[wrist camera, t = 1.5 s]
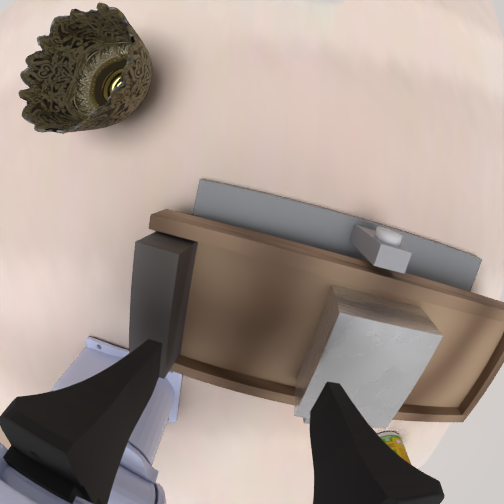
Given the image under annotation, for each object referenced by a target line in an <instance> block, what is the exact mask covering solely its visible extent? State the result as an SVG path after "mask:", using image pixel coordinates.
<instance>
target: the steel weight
mask: <svg viewBox="0 0 504 504" xmlns="http://www.w3.org/2000/svg"><path fill="white" fill-rule="evenodd" d="M442 337H443V335H442V334H441V332H440V331H439V330H438V328H437V327H436V326H435V324H434V323H433V322H432V321H431V319H430V318H429V317H428V315H427V314H426V313H425V312H424V310H423V309H422V308H421V307H418V306H414V305H410V304H406V303H402V302H399V301H395V300H391V299H387V298H383V297H379V296H375V295H371V294H367V293H363V292H359V291H356V290H352V289H348V288H344V287H340V286H336V285H332V286H331V289H330V291H329V294H328V297H327V300H326V303H325V305H324V308H323V311H322V314H321V316H320V319H319V322H318V324H317V327H316V330H315V332H314V335H313V338H312V340H311V343H310V345H309V348H308V350H307V353H306V355H305V358H304V360H303V363H302V365H301V367H300V370H299V372H298V375H297V377H296V384H295V406H294V416H298V417H303V418H308V419H310V411H311V409H312V407H313V406H314V404H315V402H316V400H317V399H318V397H319V395H320V393H321V391H322V390H323V388H324V386H325V384H326V382H334V383H340V385H341V386H342V387H343V389H344V390H345V392H346V393H347V395H348V396H349V398H350V399H351V401H352V402H353V403H354V405H355V406H356V408H357V409H358V411H359V412H360V413H361V415H362V416H363V417H364V419H365V420H366V421H367V423H368V424H369V425H370V426H371V427H374V428H386V427H387V426H388V424H389V423H390V422H391V420H392V419H393V417H394V416H395V415H396V413H397V412H398V410H399V409H400V407H401V406H402V405H403V403H404V402H405V400H406V399H407V397H408V395H409V394H410V392H411V391H412V389H413V388H414V386H415V384H416V383H417V381H418V380H419V378H420V376H421V375H422V373H423V371H424V370H425V368H426V366H427V364H428V363H429V361H430V359H431V357H432V356H433V354H434V352H435V350H436V348H437V346H438V344H439V343H440V341H441V339H442Z"/></svg>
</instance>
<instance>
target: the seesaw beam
mask: <svg viewBox="0 0 504 504" xmlns="http://www.w3.org/2000/svg"><path fill="white" fill-rule="evenodd" d="M149 229H152V230H156V232H155V233H153V234H151V235H148V236H146V237H144V238H142V239H140V240H138V241H136V242H135V251H134V262H133V273H132V286H131V303H130V326H129V353H130V352H132V351H133V350H134V349H136V348H137V347H138V346H140V345H141V344H142V343H143V342H145V341H146V340H148V339H151V340H154V341H157V342H160V343H162V350H161V361H160V372H159V377H160V378H163V379H165V377H166V375H167V374H168V372H169V370H170V371H173V372H176V373H179V374H182V375H185V376H188V377H191V378H194V379H197V380H200V381H203V382H206V383H210V384H213V385H216V386H220V387H223V388H226V389H230V390H234V391H237V392H241V393H245V394H248V395H252V396H256V397H260V398H264V399H269V400H273V401H277V402H282V403H286V404H291V405H295V384H296V377H297V375H298V372H299V370H300V367H301V365H302V363H303V360H304V358H305V355H306V353H307V350H308V348H309V345H310V343H311V340H312V338H313V335H314V332H315V330H316V327H317V324H318V322H319V319H320V316H321V314H322V311H323V308H324V305H325V303H326V300H327V297H328V294H329V291H330V289H331V286H332V285H336V286H340V287H344V288H348V289H352V290H356V291H359V292H363V293H367V294H371V295H375V296H379V297H383V298H387V299H391V300H395V301H399V302H402V303H406V304H410V305H414V306H418V307H421V308H422V309H423V310H424V312H425V313H426V314H427V315H428V317H429V318H430V319H431V321H432V322H433V323H434V324H435V326H436V327H437V328H438V330H439V331H440V332H441V334H442V335H443V337H442V339H441V341H440V343H439V344H438V346H437V348H436V350H435V352H434V354H433V356H432V357H431V359H430V361H429V363H428V364H427V366H426V368H425V370H424V371H423V373H422V375H421V376H420V378H419V380H418V381H417V383H416V384H415V386H414V388H413V389H412V391H411V392H410V394H409V395H408V397H407V399H406V400H405V402H404V403H403V405H402V406H401V407H400V409H399V410H398V412H397V413H396V415H395V416H394V417H393V419H392V420H406V421H424V422H463V421H464V420H465V419H466V418H467V416H468V415H469V414H470V412H471V411H472V410H473V408H474V407H475V405H476V404H477V403H478V401H479V400H480V398H481V397H482V396H483V394H484V393H485V391H486V390H487V388H488V387H489V385H490V384H491V382H492V381H493V379H494V377H495V376H496V374H497V372H498V371H499V369H500V368H501V366H502V364H503V362H504V302H501V301H498V300H494V299H491V298H488V297H485V296H482V295H478V294H475V293H472V292H469V291H465V290H462V289H459V288H455V287H452V286H449V285H445V284H442V283H439V282H435V281H432V280H429V279H425V278H422V277H418V276H415V275H412V274H408V273H405V274H404V273H400V272H396V271H392V270H388V269H384V268H380V267H377V266H373V264H372V263H370V262H366V261H363V260H359V259H356V258H352V257H348V256H345V255H341V254H338V253H334V252H330V251H327V250H323V249H319V248H316V247H312V246H308V245H305V244H301V243H297V242H293V241H290V240H286V239H282V238H278V237H275V236H271V235H267V234H263V233H259V232H256V231H252V230H248V229H244V228H240V227H236V226H232V225H228V224H225V223H221V222H217V221H213V220H209V219H205V218H201V217H197V216H193V215H189V214H185V213H181V212H177V211H173V210H168V209H166V210H163V211H160V212H157V213H154V214H151V216H150V223H149Z"/></svg>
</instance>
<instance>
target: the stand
mask: <svg viewBox="0 0 504 504" xmlns="http://www.w3.org/2000/svg"><path fill="white" fill-rule="evenodd" d="M193 216H197V217H201V218H205V219H209V220H213V221H217V222H221V223H225V224H228V225H232V226H236V227H240V228H244V229H248V230H252V231H256V232H259V233H263V234H267V235H271V236H275V237H278V238H282V239H286V240H290V241H293V242H297V243H301V244H305V245H308V246H312V247H316V248H319V249H323V250H327V251H330V252H334V253H338V254H341V255H345V256H348V257H352V258H356V259H359V260H363V261H366V262H370V263H372V264H373V266H377V267H380V268H384V269H388V270H392V271H396V272H400V273H404V274H405V273H408V274H412V275H415V276H418V277H422V278H425V279H429V280H432V281H435V282H439V283H442V284H445V285H449V286H452V287H455V288H459V289H462V290H465V291H469V292H470V290H471V287H472V285H473V282H474V280H475V277H476V275H477V272H478V269H479V267H480V264H481V261H482V259H480V258H478V257H477V256H475V255H472V254H469V253H466V252H464V251H461V250H458V249H455V248H452V247H450V246H447V245H444V244H441V243H438V242H435V241H432V240H429V239H426V238H423V237H420V236H417V235H414V234H411V233H408V232H405V231H401V230H398V229H395V228H392V227H389V226H385V225H382V224H379V223H376V222H372V221H369V220H365V219H362V218H359V217H355V216H352V215H348V214H345V213H341V212H338V211H334V210H330V209H327V208H323V207H319V206H316V205H312V204H308V203H304V202H300V201H296V200H292V199H289V198H285V197H281V196H276V195H272V194H268V193H264V192H260V191H256V190H251V189H247V188H243V187H238V186H234V185H229V184H225V183H220V182H215V181H211V180H206V179H200V180H199V185H198V190H197V195H196V200H195V205H194V210H193ZM303 420H304V423H308V424H310V419H308V418H303Z"/></svg>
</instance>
